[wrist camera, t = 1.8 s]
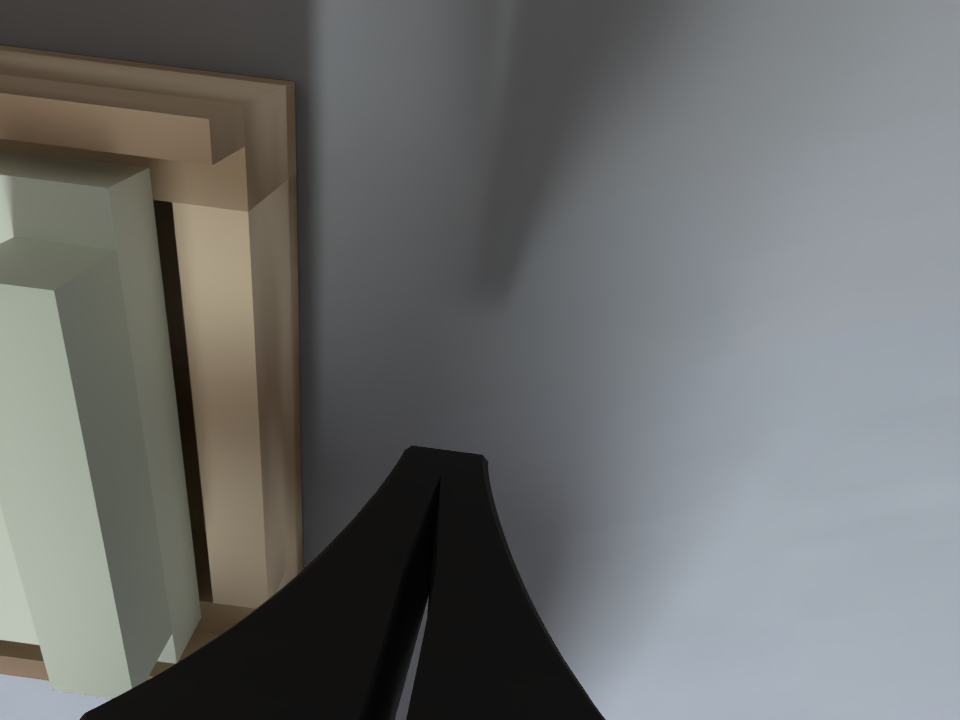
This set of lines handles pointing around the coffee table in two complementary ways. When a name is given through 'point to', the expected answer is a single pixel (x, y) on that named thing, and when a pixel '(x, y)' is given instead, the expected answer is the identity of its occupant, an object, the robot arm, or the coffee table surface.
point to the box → (200, 294)
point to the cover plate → (89, 428)
